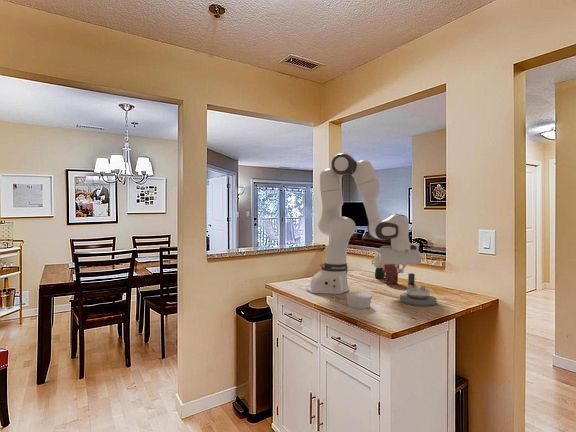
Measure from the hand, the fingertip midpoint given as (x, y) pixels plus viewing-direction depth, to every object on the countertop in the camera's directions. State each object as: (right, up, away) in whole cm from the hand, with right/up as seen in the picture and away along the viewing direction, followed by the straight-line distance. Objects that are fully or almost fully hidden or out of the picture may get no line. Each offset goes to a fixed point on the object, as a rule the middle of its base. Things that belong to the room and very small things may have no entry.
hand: (400, 272), depth 173 cm
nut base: (+3, -11, -15) cm, 19 cm away
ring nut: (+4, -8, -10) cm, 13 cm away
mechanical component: (+2, -10, +22) cm, 24 cm away
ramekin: (-26, -11, -24) cm, 37 cm away
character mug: (-1, -10, +37) cm, 38 cm away
